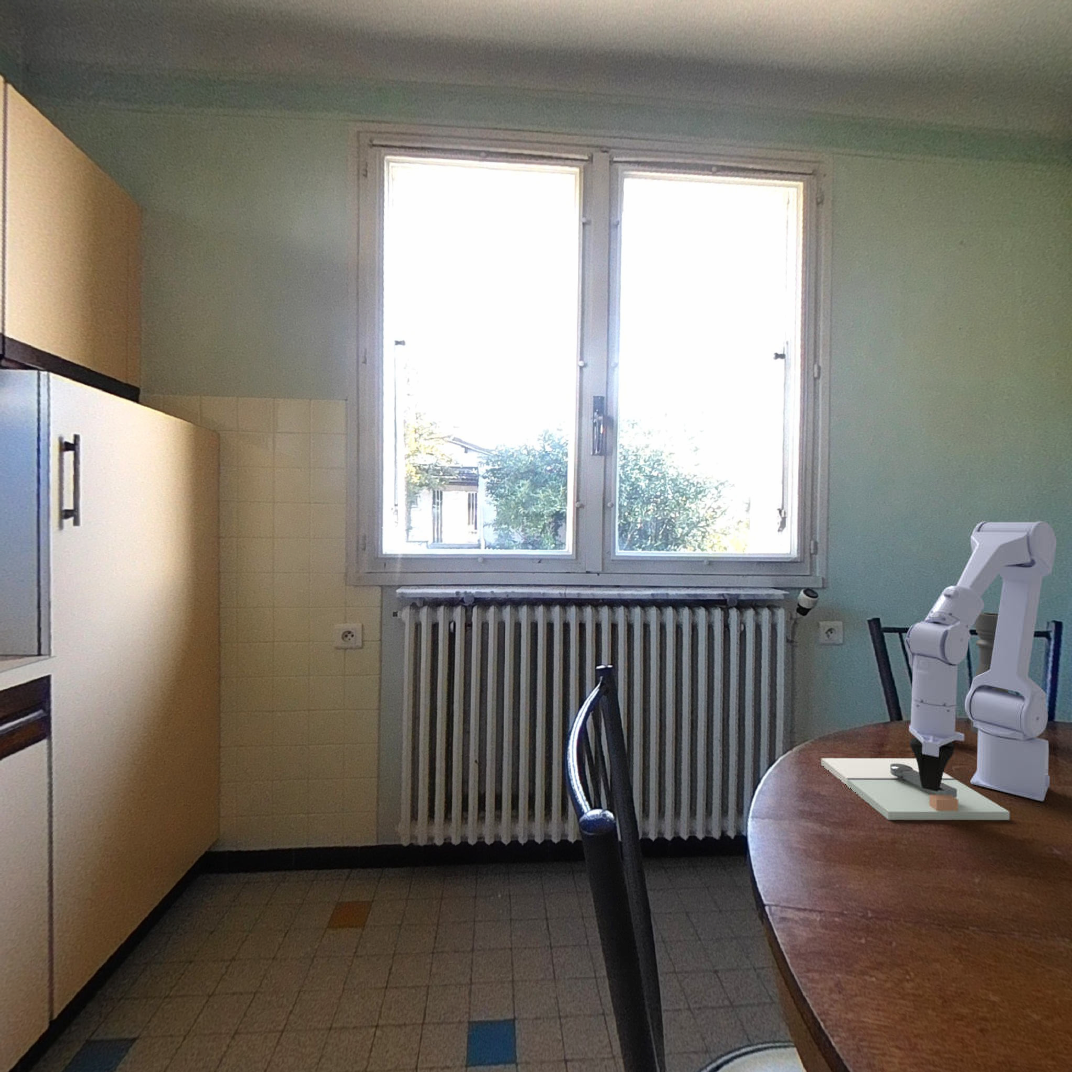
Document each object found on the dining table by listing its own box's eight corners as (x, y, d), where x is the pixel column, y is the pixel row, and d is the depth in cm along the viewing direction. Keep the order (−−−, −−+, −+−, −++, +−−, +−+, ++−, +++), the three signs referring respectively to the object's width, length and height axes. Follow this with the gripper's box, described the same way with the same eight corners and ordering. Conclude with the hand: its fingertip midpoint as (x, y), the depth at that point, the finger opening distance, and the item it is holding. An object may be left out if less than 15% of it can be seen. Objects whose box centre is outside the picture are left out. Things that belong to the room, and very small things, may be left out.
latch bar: (885, 771, 102) (885, 764, 102) (901, 769, 103) (901, 762, 103) (943, 799, 92) (943, 791, 92) (959, 796, 93) (959, 788, 93)
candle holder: (1000, 730, 130) (1003, 613, 129) (1012, 739, 124) (1015, 617, 124) (966, 726, 132) (969, 611, 131) (976, 736, 126) (979, 615, 126)
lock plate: (920, 765, 111) (920, 749, 110) (1009, 819, 90) (1009, 801, 90) (821, 764, 110) (821, 749, 110) (888, 819, 90) (888, 800, 90)
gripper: (965, 717, 86) (962, 813, 86) (964, 695, 98) (961, 780, 98) (907, 707, 90) (903, 799, 90) (913, 688, 102) (909, 769, 102)
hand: (930, 788), depth 94 cm, fingers closed, pressing on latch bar
